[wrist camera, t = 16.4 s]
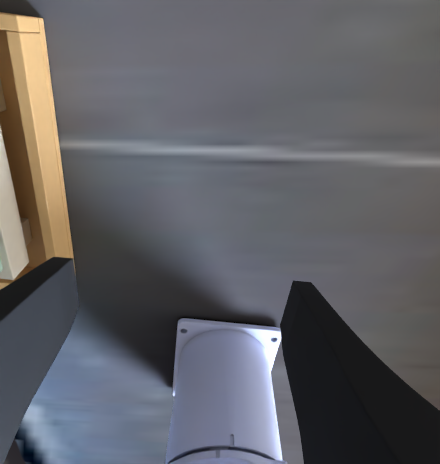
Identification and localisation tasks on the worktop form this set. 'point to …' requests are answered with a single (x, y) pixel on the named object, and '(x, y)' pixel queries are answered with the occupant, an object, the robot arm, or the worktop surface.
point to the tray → (33, 139)
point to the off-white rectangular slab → (11, 218)
